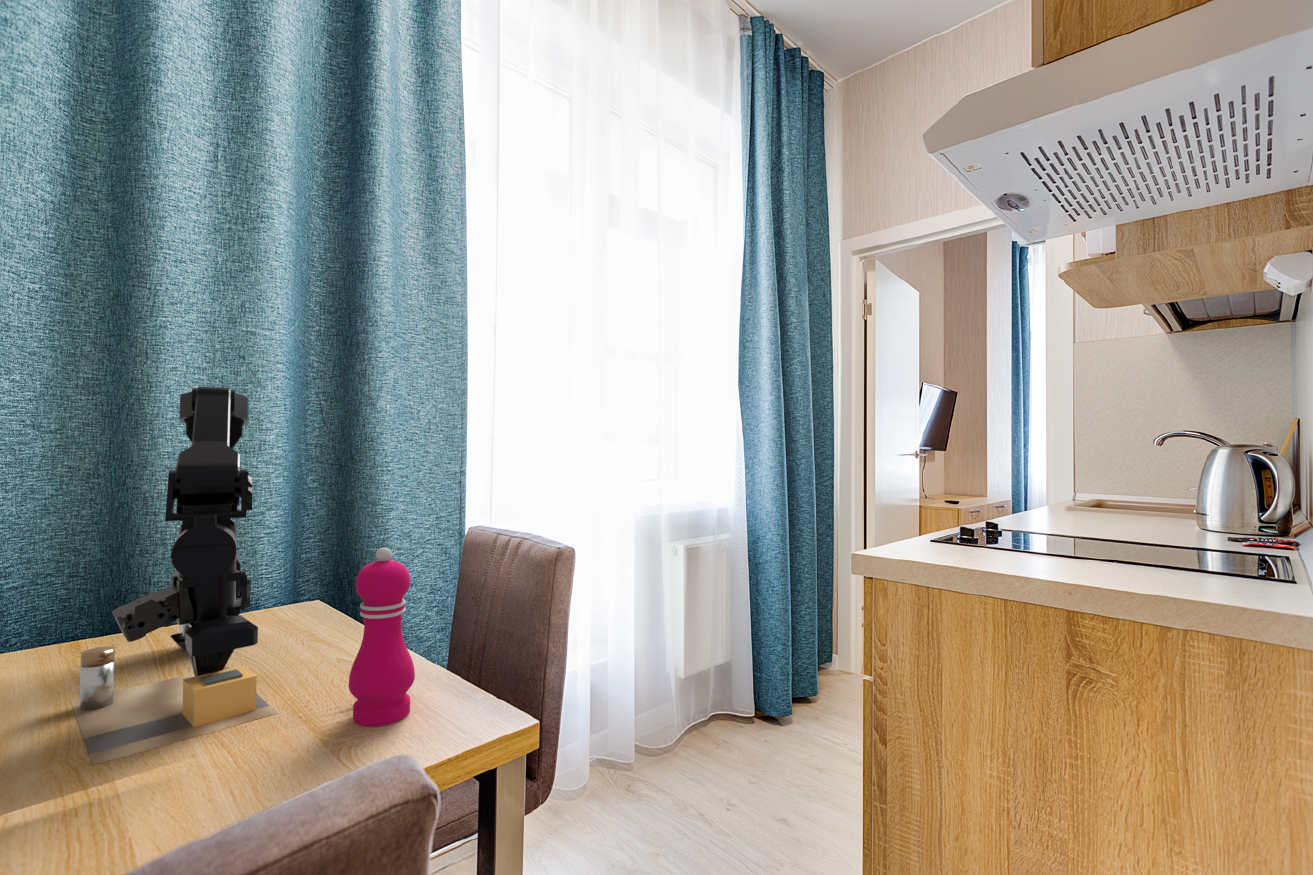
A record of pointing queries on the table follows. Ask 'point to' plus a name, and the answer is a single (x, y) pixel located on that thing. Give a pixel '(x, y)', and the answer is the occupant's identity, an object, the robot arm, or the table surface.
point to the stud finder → (219, 695)
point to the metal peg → (97, 678)
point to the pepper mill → (382, 645)
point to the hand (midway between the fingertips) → (205, 693)
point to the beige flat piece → (148, 720)
